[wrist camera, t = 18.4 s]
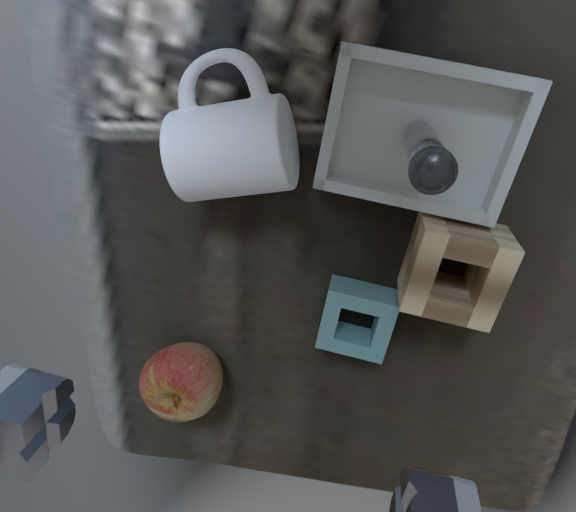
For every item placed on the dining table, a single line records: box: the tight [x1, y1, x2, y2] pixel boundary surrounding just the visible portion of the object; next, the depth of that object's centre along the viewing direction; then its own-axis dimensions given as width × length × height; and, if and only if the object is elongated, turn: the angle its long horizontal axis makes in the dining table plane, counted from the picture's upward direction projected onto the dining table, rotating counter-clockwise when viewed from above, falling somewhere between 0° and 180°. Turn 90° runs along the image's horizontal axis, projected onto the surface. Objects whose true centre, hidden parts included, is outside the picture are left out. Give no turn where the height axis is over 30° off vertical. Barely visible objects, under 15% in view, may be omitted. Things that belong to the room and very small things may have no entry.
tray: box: [313, 41, 553, 228], centre depth 39 cm, size 12×16×3 cm
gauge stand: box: [315, 274, 399, 364], centre depth 47 cm, size 7×7×4 cm
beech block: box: [397, 212, 525, 333], centre depth 42 cm, size 8×8×6 cm
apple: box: [139, 342, 223, 422], centre depth 52 cm, size 9×9×8 cm
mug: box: [159, 48, 299, 202], centre depth 39 cm, size 12×10×8 cm
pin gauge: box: [404, 121, 458, 195], centre depth 34 cm, size 3×3×12 cm
